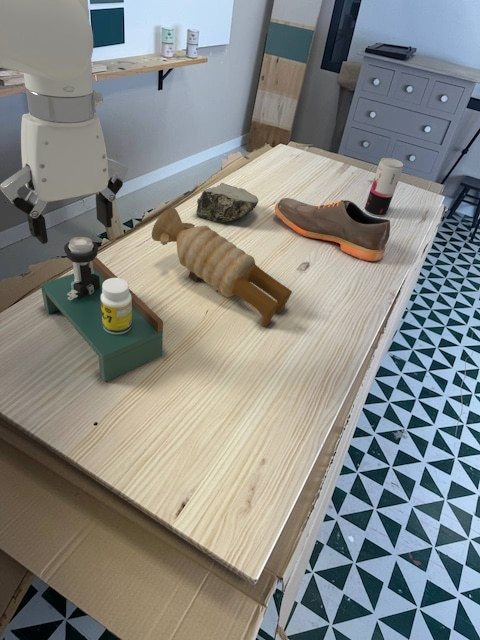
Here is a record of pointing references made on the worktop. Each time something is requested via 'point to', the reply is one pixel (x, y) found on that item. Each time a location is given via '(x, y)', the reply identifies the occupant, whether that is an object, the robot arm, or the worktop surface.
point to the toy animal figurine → (221, 264)
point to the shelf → (87, 319)
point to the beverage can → (383, 186)
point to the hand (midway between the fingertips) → (73, 231)
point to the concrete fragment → (225, 203)
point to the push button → (82, 266)
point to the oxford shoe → (338, 226)
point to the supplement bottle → (116, 306)
